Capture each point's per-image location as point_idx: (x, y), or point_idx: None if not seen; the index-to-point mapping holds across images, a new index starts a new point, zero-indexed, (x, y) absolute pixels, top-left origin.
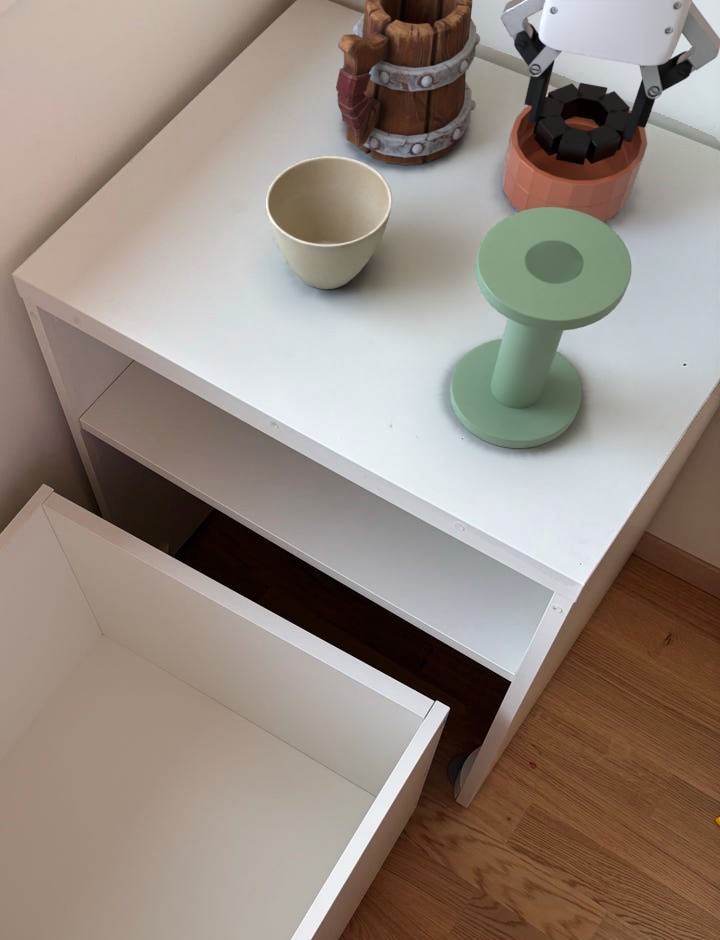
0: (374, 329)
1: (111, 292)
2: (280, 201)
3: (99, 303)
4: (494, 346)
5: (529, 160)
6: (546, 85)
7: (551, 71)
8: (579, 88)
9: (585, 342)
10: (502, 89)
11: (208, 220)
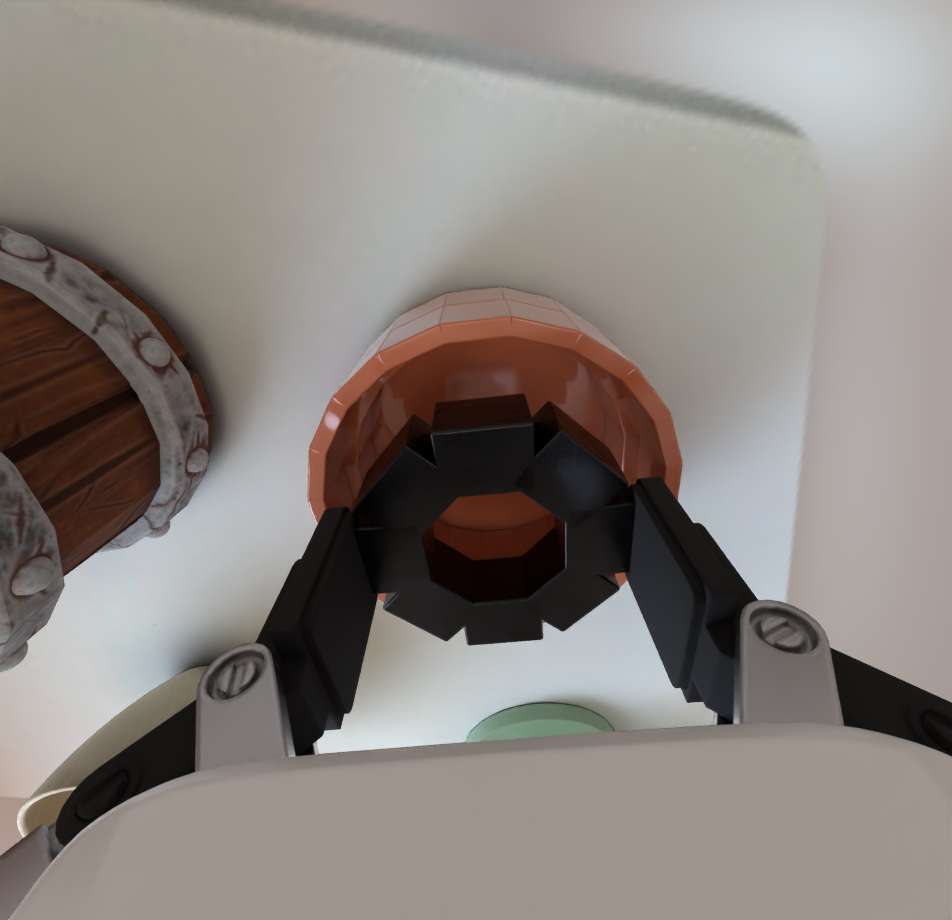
0: (343, 733)
1: (31, 779)
2: (73, 790)
3: (36, 789)
4: (497, 737)
5: (388, 409)
6: (350, 668)
7: (329, 611)
8: (439, 461)
9: (607, 677)
10: (168, 126)
11: (6, 682)
